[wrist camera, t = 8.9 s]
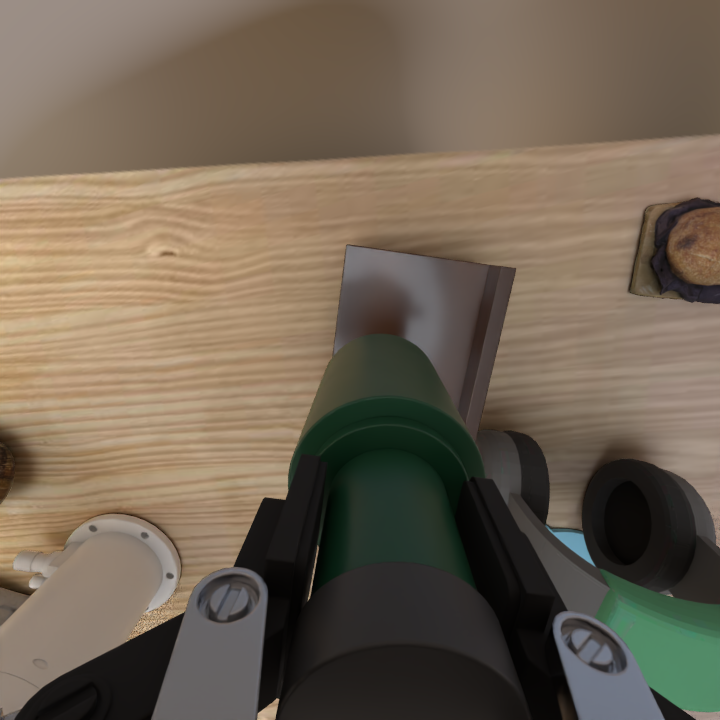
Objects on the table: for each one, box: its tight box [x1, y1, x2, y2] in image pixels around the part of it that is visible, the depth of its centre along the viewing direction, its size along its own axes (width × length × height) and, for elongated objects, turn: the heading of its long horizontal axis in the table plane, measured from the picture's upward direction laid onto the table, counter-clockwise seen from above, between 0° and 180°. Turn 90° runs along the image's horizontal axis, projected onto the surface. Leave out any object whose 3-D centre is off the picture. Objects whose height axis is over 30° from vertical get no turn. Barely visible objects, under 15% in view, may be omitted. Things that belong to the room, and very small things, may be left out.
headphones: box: [475, 430, 720, 712], centre depth 31 cm, size 19×11×20 cm, turn 77°
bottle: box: [275, 334, 532, 720], centre depth 13 cm, size 6×6×16 cm
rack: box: [332, 244, 516, 441], centre depth 32 cm, size 11×14×10 cm
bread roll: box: [630, 198, 720, 304], centre depth 33 cm, size 11×8×4 cm
